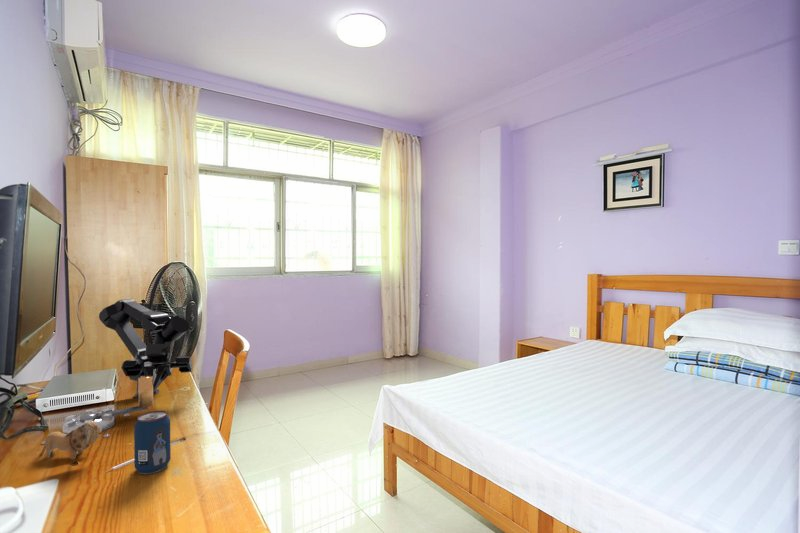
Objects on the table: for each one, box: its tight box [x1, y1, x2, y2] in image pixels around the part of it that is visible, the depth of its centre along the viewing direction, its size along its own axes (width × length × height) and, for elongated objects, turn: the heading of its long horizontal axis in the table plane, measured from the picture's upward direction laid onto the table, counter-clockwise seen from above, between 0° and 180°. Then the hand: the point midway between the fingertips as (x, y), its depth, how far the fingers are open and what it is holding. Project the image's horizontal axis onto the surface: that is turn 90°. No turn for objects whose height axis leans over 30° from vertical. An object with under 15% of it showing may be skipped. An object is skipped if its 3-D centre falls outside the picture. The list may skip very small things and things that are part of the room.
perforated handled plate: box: [62, 375, 154, 434], centre depth 109 cm, size 20×11×12 cm, turn 127°
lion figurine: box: [38, 422, 103, 467], centre depth 92 cm, size 15×5×9 cm, turn 93°
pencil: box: [104, 437, 186, 474], centre depth 95 cm, size 1×19×1 cm, turn 151°
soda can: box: [133, 410, 172, 475], centre depth 89 cm, size 7×7×12 cm
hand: (152, 390), depth 120 cm, fingers closed
